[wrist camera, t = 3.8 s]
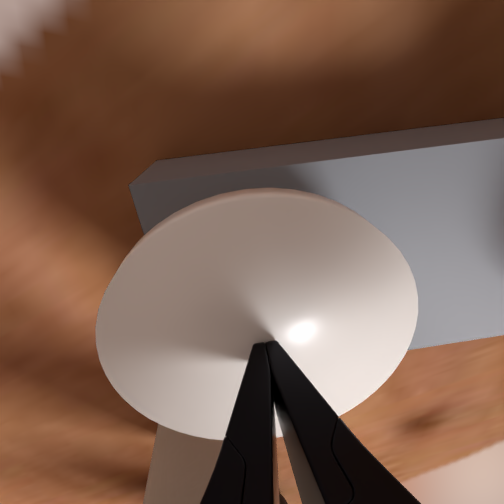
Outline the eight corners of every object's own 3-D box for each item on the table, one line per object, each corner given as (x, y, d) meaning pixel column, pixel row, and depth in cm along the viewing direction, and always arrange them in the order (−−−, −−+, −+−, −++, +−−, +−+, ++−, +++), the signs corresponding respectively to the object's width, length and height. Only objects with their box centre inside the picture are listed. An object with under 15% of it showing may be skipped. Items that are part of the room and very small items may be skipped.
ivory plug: (228, 101, 12) (236, 98, 6) (385, 242, 16) (476, 317, 10) (105, 281, 15) (37, 385, 9) (260, 359, 19) (277, 464, 13)
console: (659, 98, 16) (832, 96, 11) (571, 265, 21) (666, 309, 16) (156, 160, 14) (128, 185, 10) (197, 321, 20) (191, 384, 15)
